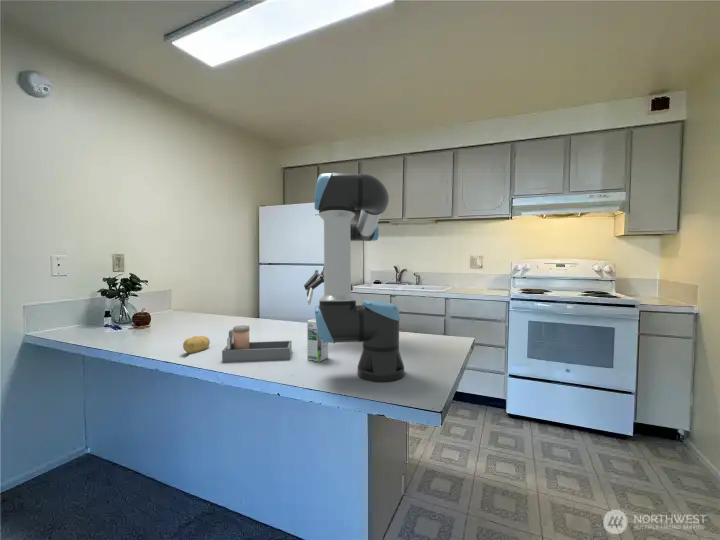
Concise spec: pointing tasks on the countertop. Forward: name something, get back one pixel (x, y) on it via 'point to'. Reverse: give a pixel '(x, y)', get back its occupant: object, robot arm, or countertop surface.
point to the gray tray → (259, 352)
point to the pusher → (230, 340)
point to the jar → (241, 337)
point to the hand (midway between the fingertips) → (325, 303)
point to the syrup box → (315, 343)
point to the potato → (196, 344)
